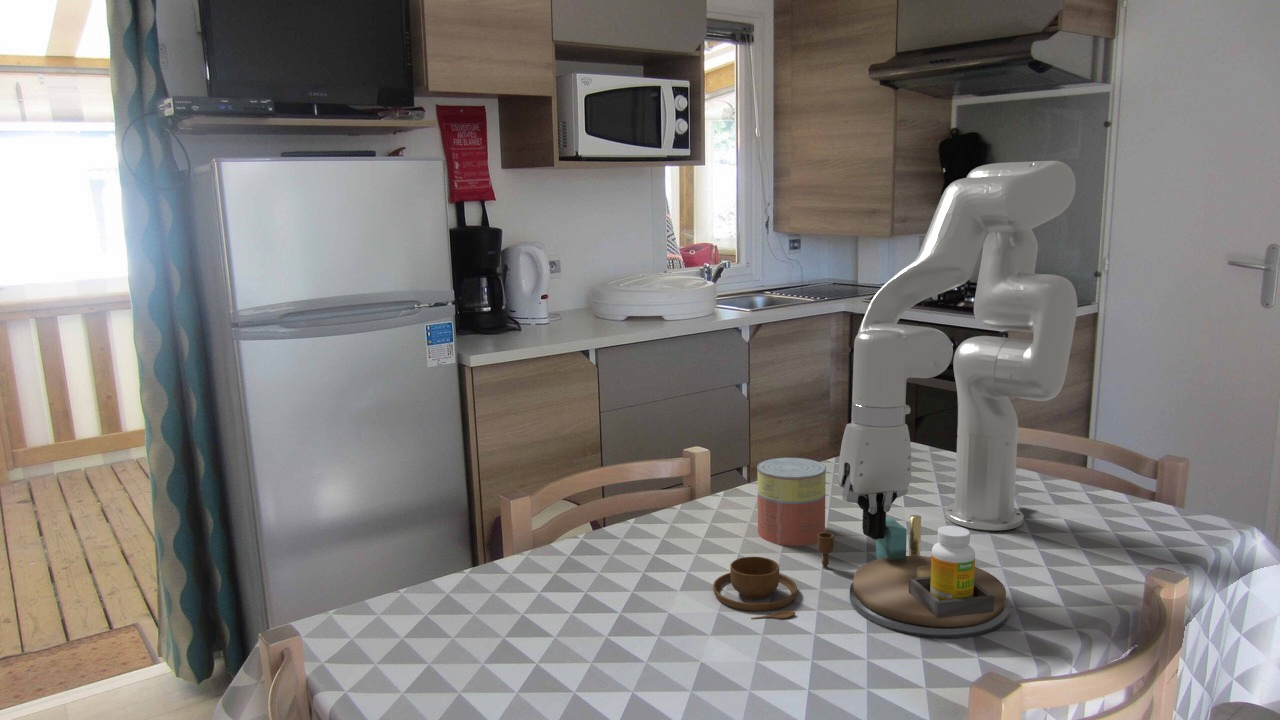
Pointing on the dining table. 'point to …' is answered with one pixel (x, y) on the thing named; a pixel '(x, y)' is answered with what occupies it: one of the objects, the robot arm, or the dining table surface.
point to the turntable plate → (920, 588)
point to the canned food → (791, 500)
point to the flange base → (920, 629)
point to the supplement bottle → (952, 564)
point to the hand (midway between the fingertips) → (873, 536)
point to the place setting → (764, 581)
